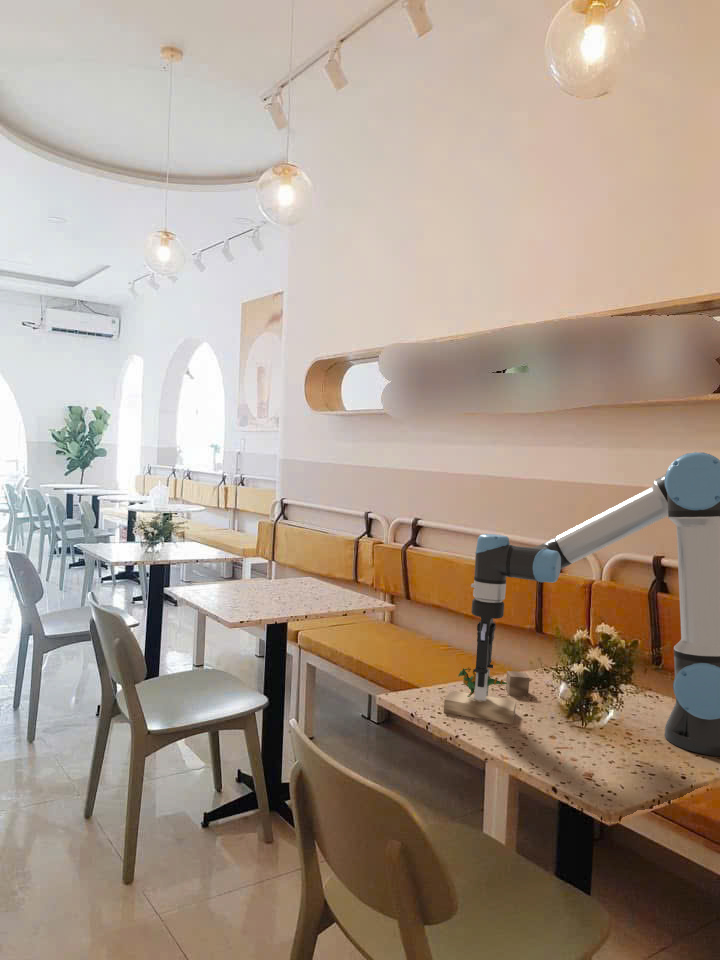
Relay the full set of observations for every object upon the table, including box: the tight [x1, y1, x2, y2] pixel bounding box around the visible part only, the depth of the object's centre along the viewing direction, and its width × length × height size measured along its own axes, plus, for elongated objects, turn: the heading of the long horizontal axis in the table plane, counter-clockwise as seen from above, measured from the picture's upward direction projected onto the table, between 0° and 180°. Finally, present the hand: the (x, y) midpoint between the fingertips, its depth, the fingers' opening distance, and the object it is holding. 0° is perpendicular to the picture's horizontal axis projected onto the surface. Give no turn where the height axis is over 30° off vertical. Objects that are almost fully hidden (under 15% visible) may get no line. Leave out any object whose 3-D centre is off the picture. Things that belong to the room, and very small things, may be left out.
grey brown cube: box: [505, 670, 530, 697], centre depth 187 cm, size 5×5×5 cm
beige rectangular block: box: [443, 689, 517, 725], centre depth 169 cm, size 16×8×3 cm, turn 73°
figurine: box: [457, 666, 507, 697], centre depth 169 cm, size 3×12×8 cm, turn 66°
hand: (481, 697), depth 169 cm, fingers closed on figurine, 3 cm apart
